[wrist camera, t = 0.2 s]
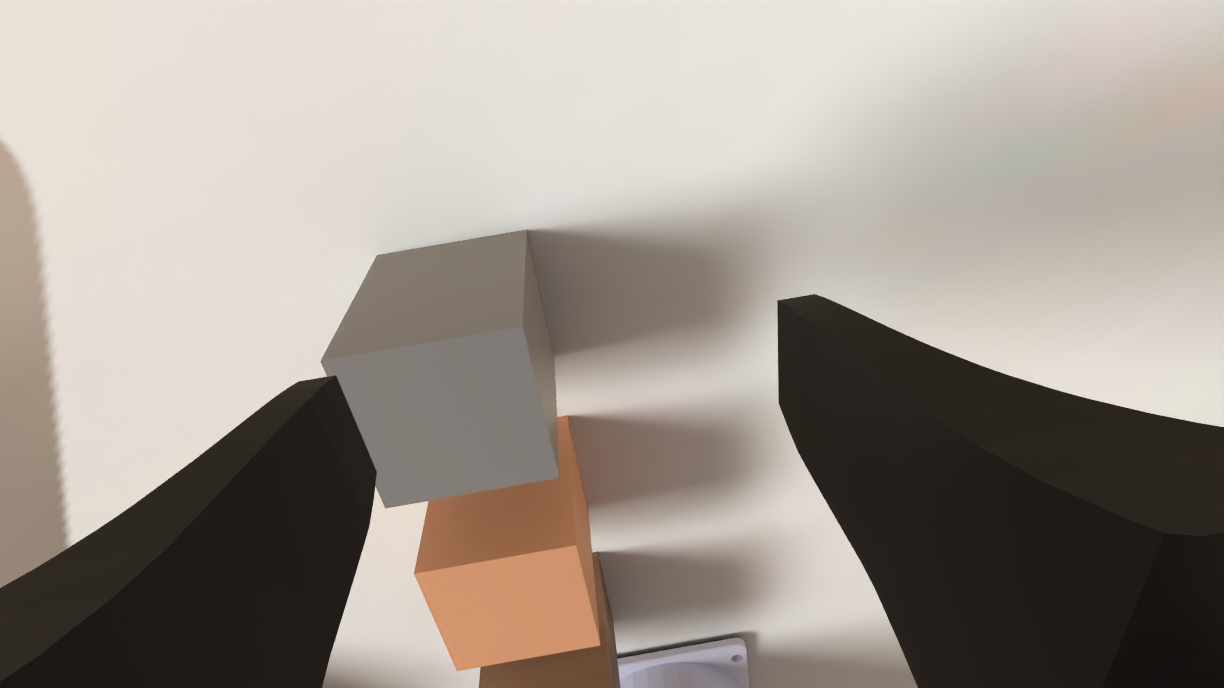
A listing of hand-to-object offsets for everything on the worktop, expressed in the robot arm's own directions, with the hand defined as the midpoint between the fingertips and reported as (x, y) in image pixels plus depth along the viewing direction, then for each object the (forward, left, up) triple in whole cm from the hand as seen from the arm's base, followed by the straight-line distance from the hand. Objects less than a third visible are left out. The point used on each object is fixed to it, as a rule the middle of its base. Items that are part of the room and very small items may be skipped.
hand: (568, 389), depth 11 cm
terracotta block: (-10, +3, -10) cm, 14 cm away
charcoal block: (-3, +3, -10) cm, 11 cm away
